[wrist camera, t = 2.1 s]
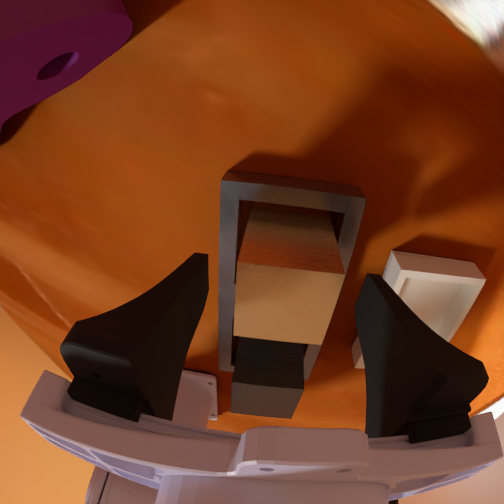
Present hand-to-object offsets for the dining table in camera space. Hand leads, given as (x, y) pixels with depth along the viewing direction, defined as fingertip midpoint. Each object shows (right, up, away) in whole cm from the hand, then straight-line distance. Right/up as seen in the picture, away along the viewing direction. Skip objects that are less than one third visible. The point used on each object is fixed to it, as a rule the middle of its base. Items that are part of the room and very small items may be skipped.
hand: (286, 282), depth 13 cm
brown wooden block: (0, +2, +4) cm, 4 cm away
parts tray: (+10, -3, +6) cm, 12 cm away
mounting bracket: (-17, +14, -1) cm, 22 cm away
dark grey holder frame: (0, -1, +6) cm, 6 cm away
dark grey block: (0, -4, +8) cm, 9 cm away
